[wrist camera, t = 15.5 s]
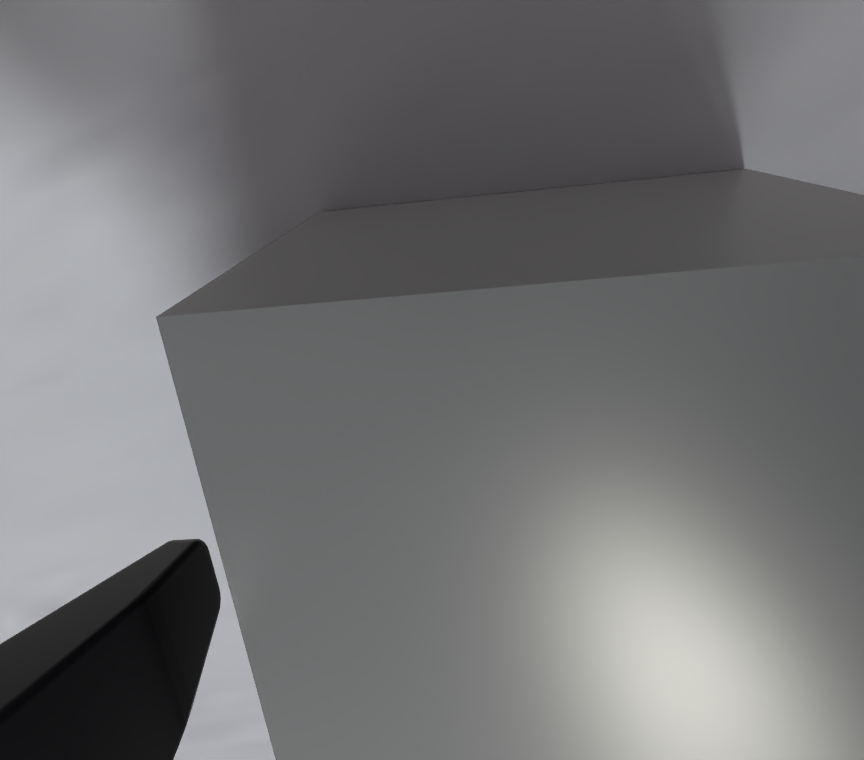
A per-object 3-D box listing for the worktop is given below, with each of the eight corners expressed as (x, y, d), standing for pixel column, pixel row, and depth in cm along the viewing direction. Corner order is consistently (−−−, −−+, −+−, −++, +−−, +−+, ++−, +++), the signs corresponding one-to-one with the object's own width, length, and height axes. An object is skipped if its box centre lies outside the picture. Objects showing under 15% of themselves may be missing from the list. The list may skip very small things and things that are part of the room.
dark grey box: (720, 534, 14) (905, 859, 8) (375, 551, 15) (303, 860, 9) (745, 168, 12) (1059, 238, 5) (319, 211, 12) (155, 317, 6)
